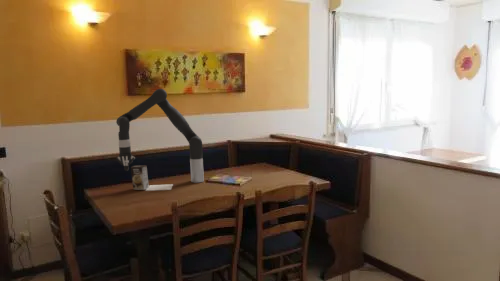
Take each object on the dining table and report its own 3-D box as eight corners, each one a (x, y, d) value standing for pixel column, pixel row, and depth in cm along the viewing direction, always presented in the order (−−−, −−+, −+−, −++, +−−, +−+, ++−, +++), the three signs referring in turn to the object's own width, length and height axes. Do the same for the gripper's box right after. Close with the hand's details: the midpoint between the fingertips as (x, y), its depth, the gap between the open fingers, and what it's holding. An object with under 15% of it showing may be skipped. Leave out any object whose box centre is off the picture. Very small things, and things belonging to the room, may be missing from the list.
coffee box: (132, 189, 270) (129, 167, 268) (138, 187, 276) (135, 165, 274) (144, 190, 267) (141, 167, 265) (149, 187, 274) (146, 164, 271)
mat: (173, 184, 281) (173, 184, 281) (170, 189, 268) (170, 189, 268) (149, 186, 280) (148, 185, 279) (145, 190, 267) (145, 190, 267)
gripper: (135, 144, 271) (137, 169, 273) (116, 145, 270) (118, 170, 272) (133, 146, 263) (135, 171, 266) (113, 147, 263) (115, 172, 265)
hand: (126, 170), depth 269 cm, fingers closed
